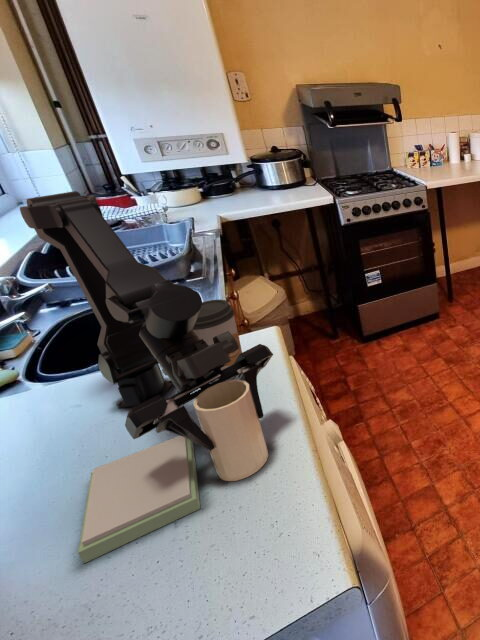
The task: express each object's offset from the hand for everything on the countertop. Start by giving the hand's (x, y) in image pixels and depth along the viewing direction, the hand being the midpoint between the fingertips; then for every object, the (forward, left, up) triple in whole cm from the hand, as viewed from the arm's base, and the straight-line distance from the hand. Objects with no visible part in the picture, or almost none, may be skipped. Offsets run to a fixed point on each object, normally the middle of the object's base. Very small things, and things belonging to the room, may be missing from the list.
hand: (238, 432), depth 64 cm
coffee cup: (-26, -15, -7) cm, 30 cm away
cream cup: (-1, -1, -7) cm, 7 cm away
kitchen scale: (+3, -13, -7) cm, 15 cm away
